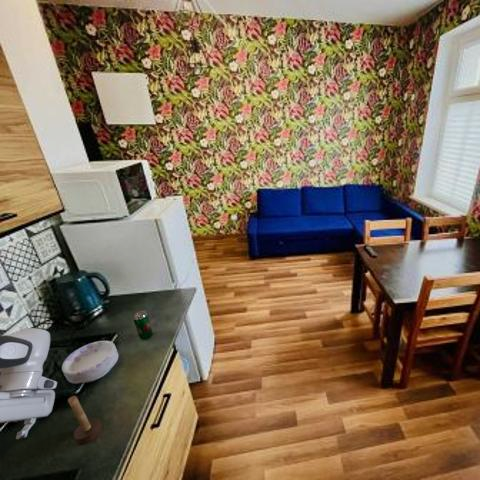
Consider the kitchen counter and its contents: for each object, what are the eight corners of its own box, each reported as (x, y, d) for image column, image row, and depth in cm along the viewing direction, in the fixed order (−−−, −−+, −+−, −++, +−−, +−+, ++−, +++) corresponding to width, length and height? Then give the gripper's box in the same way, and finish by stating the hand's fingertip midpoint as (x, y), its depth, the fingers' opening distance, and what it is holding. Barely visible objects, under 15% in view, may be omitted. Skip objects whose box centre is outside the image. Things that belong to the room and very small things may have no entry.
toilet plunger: (73, 448, 75) (52, 412, 70) (81, 427, 81) (63, 393, 75) (98, 439, 77) (81, 404, 72) (105, 420, 83) (89, 386, 77)
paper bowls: (90, 394, 90) (82, 377, 87) (58, 383, 94) (49, 367, 91) (130, 360, 104) (125, 344, 101) (101, 351, 108) (95, 336, 105)
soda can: (138, 336, 116) (130, 314, 111) (151, 330, 119) (144, 308, 115) (141, 342, 113) (134, 319, 108) (155, 336, 116) (148, 313, 112)
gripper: (-18, 384, 70) (-42, 449, 63) (62, 382, 88) (50, 432, 81) (-39, 389, 70) (-65, 454, 64) (45, 386, 88) (32, 436, 82)
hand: (0, 442), depth 73 cm, fingers open, 8 cm apart
